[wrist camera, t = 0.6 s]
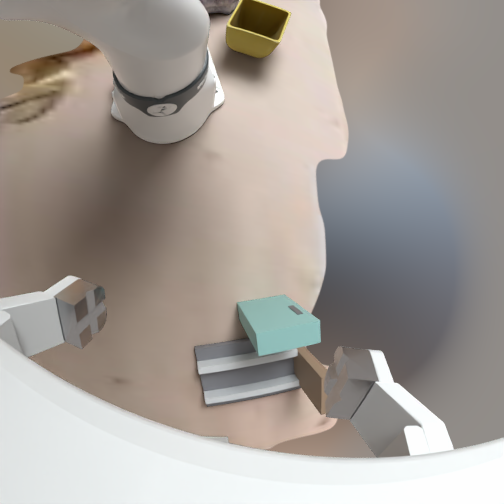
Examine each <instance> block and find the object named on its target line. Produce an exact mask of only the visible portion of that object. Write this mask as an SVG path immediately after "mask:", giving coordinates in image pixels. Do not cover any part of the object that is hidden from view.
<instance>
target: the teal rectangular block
mask: <svg viewBox="0 0 504 504" xmlns="http://www.w3.org/2000/svg"><path fill="white" fill-rule="evenodd" d="M237 305H238V313H239V320H240V322H241V324H242V326H243V328H244V330H245V331H246V333H247V335H248V337H249V339H250V341H251V343H252V345H253V346H254V348H255V350H256V352H257V354H258V356H262V355H267V354H272V353H277V352H282V351H286V350H291V349H295V348H299V347H304V346H308V345H312V344H316V343H320V342H321V340H320V320H318V319H317V318H316V317H314V316H313V315H312V314H310V313H309V312H308V311H306V310H305V309H303V308H302V307H301V306H299V305H298V304H297V303H295V302H294V301H292V300H291V299H290V298H288V297H287V296H286V295H280V296H274V297H268V298H262V299H256V300H250V301H243V302H237Z"/></svg>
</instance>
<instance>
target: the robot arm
mask: <svg viewBox="0 0 504 504" xmlns="http://www.w3.org/2000/svg"><path fill="white" fill-rule="evenodd" d="M0 19H3V20H31V21H39V22H44V23H48V24H52V25H55V26H58V27H61V28H63V29H65V30H68V31H70V32H72V33H74V34H76V35H78V36H80V37H82V38H84V39H85V40H87V41H89V42H90V43H92V44H93V45H95V46H96V47H97V48H98V49H100V51H101V52H102V53H103V54H104V56H105V57H106V59H107V60H108V62H109V64H110V65H111V67H112V69H113V77H114V79H113V84H114V85H115V88H114V91H113V92H112V97H113V104H112V108H111V113H112V116H113V117H114V118H115V119H117V120H119V121H122V122H124V123H125V124H127V126H128V127H129V128H130V129H131V131H132V132H133V133H134V134H135V135H137V136H138V137H140V138H141V139H143V140H145V141H148V142H152V143H158V144H167V143H173V142H177V141H180V140H183V139H185V138H187V137H189V136H190V135H192V134H193V133H195V132H196V131H197V130H198V129H199V128H200V127H201V126H202V125H203V123H204V122H205V121H206V119H207V117H208V116H209V114H210V113H211V112H212V111H214V110H215V109H217V108H218V107H220V106H221V105H222V104H223V103H224V100H225V96H224V93H223V90H222V87H221V84H220V81H219V78H218V75H217V72H216V69H215V66H214V63H213V60H212V58H211V55H210V52H209V49H208V46H207V45H208V38H209V31H210V18H209V15H208V13H207V11H206V9H205V7H204V6H203V4H202V3H201V2H200V1H199V0H0ZM216 92H218V93H217V94H216ZM104 299H105V291H104V289H103V288H102V287H101V286H99V285H96V284H93V283H91V282H88V281H85V280H83V279H80V278H78V277H75V276H70V275H69V276H67V277H65V278H64V279H62V280H61V281H59V282H58V283H56V284H55V285H53V286H52V287H50V288H49V289H47V290H46V291H44V292H41V291H39V292H33V293H28V294H22V295H17V296H11V297H6V298H1V299H0V504H504V438H500V439H497V440H493V441H490V442H486V443H483V444H478V445H474V446H469V447H465V448H460V449H453V446H452V443H451V440H450V438H449V435H448V432H447V429H446V427H445V424H444V423H443V422H442V421H441V420H440V419H439V418H438V417H436V416H435V415H434V414H432V412H431V411H429V410H428V409H427V408H426V407H425V406H423V405H422V404H421V403H420V402H419V401H418V400H417V399H415V398H414V397H413V396H412V395H411V394H410V393H408V392H407V391H406V390H405V389H404V388H403V387H401V386H400V385H399V384H398V383H394V382H393V379H392V376H391V373H390V370H389V368H388V365H387V362H386V360H385V357H384V354H383V352H381V351H377V350H364V349H357V348H349V347H342V346H339V347H338V348H337V350H336V352H335V354H334V360H335V362H334V363H333V364H331V365H329V367H328V370H327V372H326V376H325V380H324V392H325V393H326V395H327V396H328V397H327V399H326V401H325V409H326V417H330V418H339V419H349V420H350V421H351V423H352V424H353V426H354V427H355V428H356V430H357V431H358V433H359V434H360V435H361V437H362V438H363V439H364V441H365V442H366V444H367V445H368V446H369V448H370V449H371V451H372V452H373V453H374V455H375V456H376V457H377V458H341V457H321V456H309V455H298V454H290V453H282V452H275V451H268V450H262V449H256V448H251V447H246V446H241V445H236V444H231V443H227V442H223V441H218V440H214V439H210V438H207V437H203V436H199V435H196V434H192V433H189V432H185V431H182V430H179V429H176V428H173V427H170V426H167V425H164V424H161V423H158V422H155V421H152V420H150V419H147V418H144V417H142V416H139V415H137V414H134V413H132V412H129V411H127V410H124V409H122V408H120V407H117V406H115V405H113V404H111V403H109V402H106V401H104V400H102V399H100V398H98V397H96V396H94V395H92V394H90V393H88V392H86V391H84V390H82V389H80V388H78V387H76V386H74V385H72V384H71V383H69V382H67V381H65V380H63V379H62V378H60V377H58V376H56V375H55V374H53V373H51V372H50V371H48V370H46V369H45V368H43V367H42V366H40V365H38V364H37V363H35V362H34V361H32V360H31V359H29V358H28V357H30V356H32V355H35V354H37V353H40V352H42V351H45V350H47V349H50V348H52V347H54V346H57V345H59V344H62V343H64V341H65V342H67V343H69V344H72V345H74V346H76V347H78V348H81V349H83V348H84V347H85V346H86V345H87V344H88V343H89V342H90V341H91V340H92V334H94V333H97V332H99V331H100V330H101V329H102V328H103V326H104V324H105V322H106V316H107V312H106V307H105V306H104V304H103V301H104Z"/></svg>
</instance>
